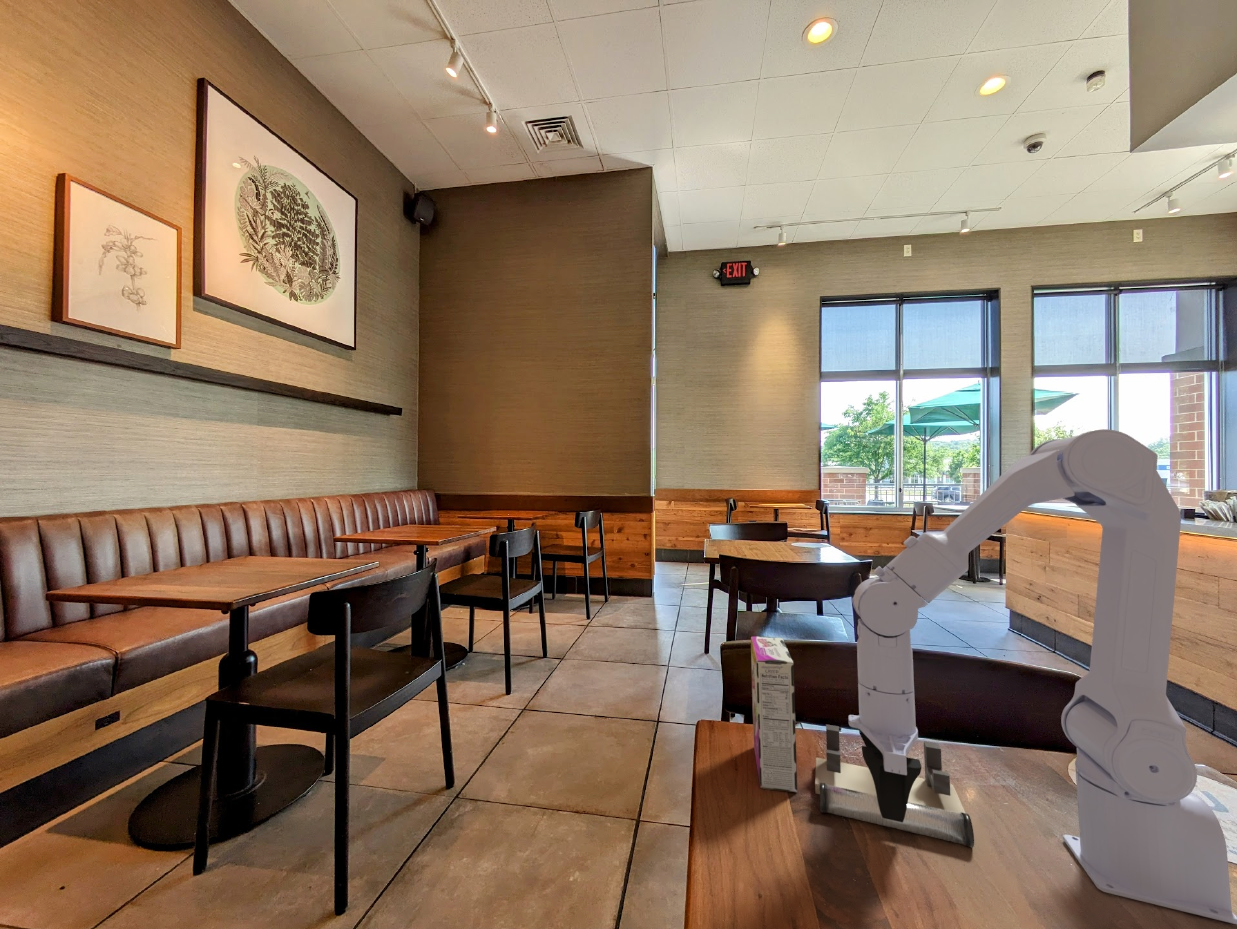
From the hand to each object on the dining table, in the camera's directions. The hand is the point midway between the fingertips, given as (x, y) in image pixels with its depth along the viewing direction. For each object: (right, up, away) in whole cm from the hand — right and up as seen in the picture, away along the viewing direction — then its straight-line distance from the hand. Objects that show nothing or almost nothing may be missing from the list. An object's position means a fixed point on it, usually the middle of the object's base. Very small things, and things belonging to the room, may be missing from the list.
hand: (889, 807), depth 55 cm
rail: (0, -1, 0) cm, 1 cm away
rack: (+3, -2, +6) cm, 7 cm away
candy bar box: (-10, -3, +12) cm, 15 cm away
